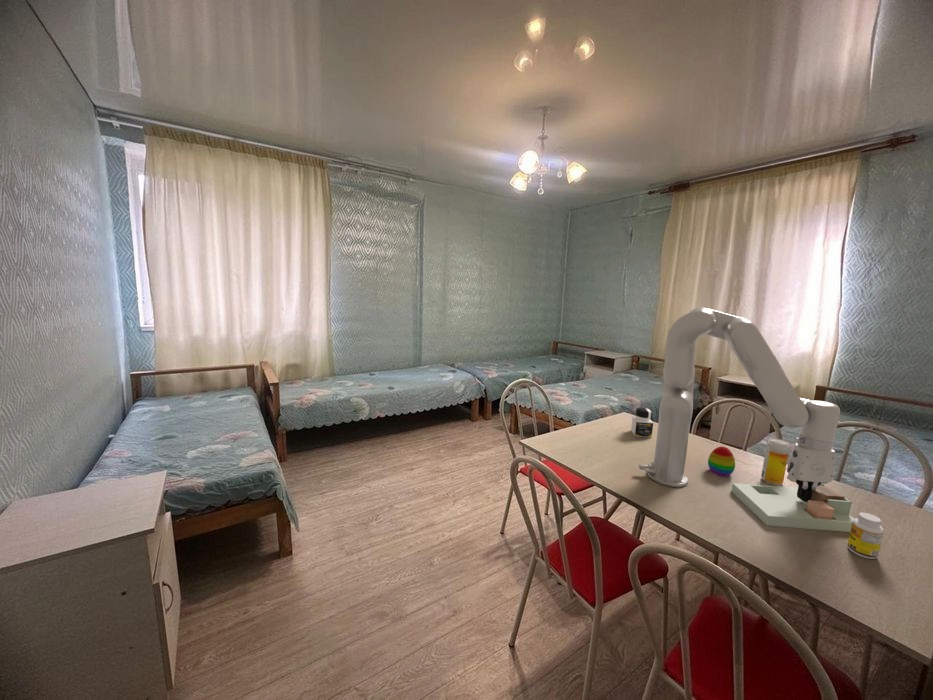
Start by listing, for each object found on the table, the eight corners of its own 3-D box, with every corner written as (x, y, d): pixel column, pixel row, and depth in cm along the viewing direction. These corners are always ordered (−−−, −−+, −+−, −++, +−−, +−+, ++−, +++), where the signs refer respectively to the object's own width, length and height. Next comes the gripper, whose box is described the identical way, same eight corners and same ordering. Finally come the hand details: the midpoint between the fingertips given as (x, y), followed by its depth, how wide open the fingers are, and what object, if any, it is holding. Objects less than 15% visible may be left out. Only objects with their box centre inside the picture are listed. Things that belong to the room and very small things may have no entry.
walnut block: (819, 509, 113) (822, 495, 112) (804, 497, 119) (806, 484, 118) (841, 510, 112) (844, 496, 111) (825, 499, 118) (828, 485, 117)
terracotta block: (814, 527, 109) (818, 508, 108) (804, 518, 113) (808, 500, 112) (830, 528, 109) (834, 509, 108) (819, 519, 113) (823, 501, 112)
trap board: (766, 525, 110) (770, 503, 108) (731, 491, 127) (734, 471, 126) (859, 532, 107) (864, 510, 106) (809, 497, 125) (813, 477, 123)
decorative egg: (738, 479, 135) (743, 452, 134) (715, 478, 136) (719, 451, 134) (724, 467, 143) (728, 442, 142) (702, 466, 144) (705, 441, 142)
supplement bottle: (845, 542, 103) (853, 507, 101) (875, 551, 100) (883, 516, 98) (847, 553, 99) (855, 517, 97) (878, 563, 95) (887, 526, 94)
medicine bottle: (634, 436, 171) (637, 410, 169) (630, 430, 178) (633, 405, 175) (651, 437, 170) (654, 412, 167) (647, 431, 176) (649, 406, 174)
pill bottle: (786, 487, 131) (794, 445, 128) (766, 484, 132) (773, 444, 129) (776, 478, 136) (783, 438, 134) (757, 476, 138) (764, 436, 135)
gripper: (796, 446, 110) (785, 504, 113) (854, 450, 108) (840, 509, 112) (778, 435, 117) (768, 490, 120) (832, 439, 115) (820, 494, 119)
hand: (803, 499), depth 116 cm, fingers closed
